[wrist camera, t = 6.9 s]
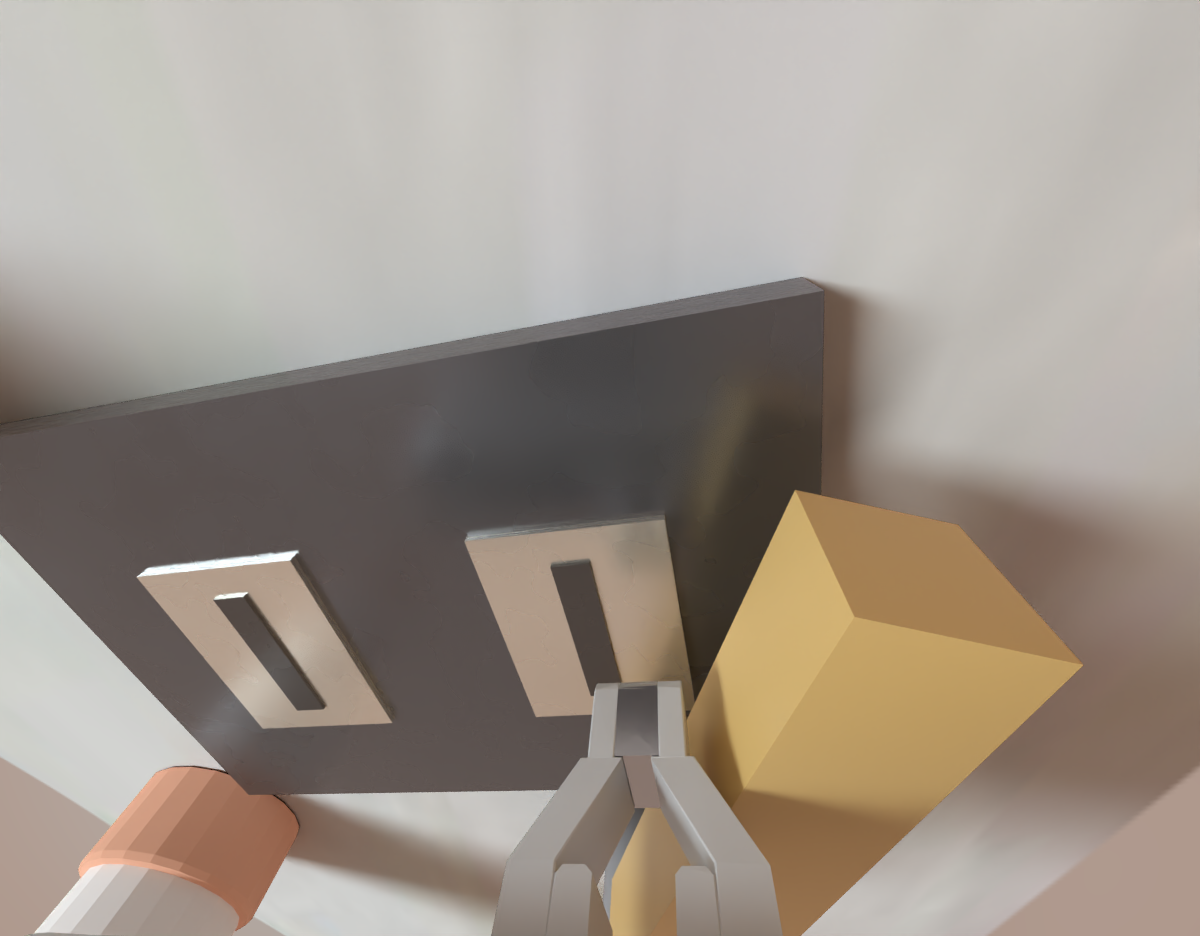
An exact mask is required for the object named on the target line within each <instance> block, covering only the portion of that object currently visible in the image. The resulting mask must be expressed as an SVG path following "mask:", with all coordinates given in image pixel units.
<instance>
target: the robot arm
mask: <svg viewBox="0 0 1200 936" xmlns="http://www.w3.org/2000/svg"><path fill="white" fill-rule="evenodd" d="M634 808H661V811H662V813H663V814H664V816H665V818H666V820H667V822H668V824H669V826H670V828H671V829H672V831H673V833H674V835H675V837H676V839H677V841H678V843H679V844H680V846H681V848H682V850H683V852H684V854H685V856H686V857H687V859H688V861H689V863H690V865H691V866H681V867H680V869H679V870H678V871H677V873H676V874H675V884H676V919H677V936H783V933H782V928H781V922H780V917H779V911H778V905H777V900H776V894H775V889H774V883H773V878H772V872H771V867H770V864H769V863H768V861H767V860H766V859H765V857H764V856H763V854H762V853H761V851H760V850H759V849H758V847H757V846H756V844H755V843H754V841H753V840H752V838H751V837H750V836H749V834H748V833H747V831H746V830H745V828H744V827H743V826H742V824H741V823H740V821H739V820H738V818H737V817H736V816H735V814H734V813H733V811H732V810H731V808H730V807H729V806H728V804H727V803H726V801H725V800H724V798H723V797H722V796H721V794H720V793H719V791H718V790H717V788H716V787H715V786H714V784H713V783H712V781H711V780H710V778H709V777H708V776H707V774H706V773H705V771H704V770H703V768H702V767H701V765H700V764H699V763H698V761H697V760H696V758H695V757H694V756H690V749H689V737H688V728H687V720H686V711H685V703H684V695H683V687H682V681H681V680H677V681H659V682H658V681H644V682H626V683H598V684H597V685H596V688H595V691H594V701H593V710H592V720H591V730H590V740H589V749H588V757H587V758H580V760H579V761H578V763H577V764H576V765H575V767H574V768H573V770H572V771H571V772H570V774H569V775H568V776H567V778H566V779H565V781H564V782H563V783H562V785H561V786H560V787H559V789H558V790H557V792H556V793H555V794H554V796H553V797H552V799H551V800H550V801H549V803H548V804H547V805H546V807H545V808H544V810H543V811H542V812H541V814H540V815H539V817H538V818H537V819H536V821H535V822H534V823H533V825H532V826H531V828H530V829H529V830H528V832H527V833H526V834H525V836H524V837H523V839H522V840H521V841H520V843H519V844H518V846H517V847H516V848H515V850H514V851H513V852H512V854H511V855H510V857H509V858H508V859H507V862H506V867H505V872H504V877H503V882H502V886H501V891H500V896H499V901H498V905H497V910H496V915H495V920H494V925H493V929H492V934H491V936H613V930H612V927H611V924H610V922H609V919H608V916H607V913H606V910H605V908H604V905H603V902H602V899H601V896H600V894H599V891H598V888H597V884H598V882H599V880H600V878H601V876H602V874H603V872H604V870H605V869H606V867H607V865H608V863H609V861H610V859H611V857H612V855H613V853H614V851H615V849H616V847H617V845H618V843H619V841H620V839H621V837H622V835H623V833H624V832H625V830H626V828H627V826H628V824H629V822H630V820H631V818H632V816H633V814H634V812H635V810H634ZM26 936H110V935H87V934H70V933H53V932H46V933H34V934H29V935H26Z"/></svg>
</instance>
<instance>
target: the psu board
mask: <svg viewBox="0 0 1200 936" xmlns="http://www.w3.org/2000/svg"><path fill="white" fill-rule="evenodd" d="M823 333H824V290H822V289H821V288H819V287H818V286H816V285H814V284H813V283H811V282H810V281H808V280H806V279H805V278H803V277H800V278H795V279H789V280H784V281H778V282H773V283H767V284H762V285H756V286H751V287H746V288H740V289H735V290H729V291H724V292H718V293H713V294H707V295H702V296H697V297H691V298H686V299H680V300H675V301H669V302H664V303H658V304H653V305H647V306H642V307H637V308H631V309H626V310H620V311H615V312H609V313H604V314H598V315H593V316H588V317H582V318H577V319H571V320H566V321H560V322H555V323H549V324H544V325H539V326H533V327H528V328H522V329H517V330H511V331H506V332H500V333H495V334H490V335H484V336H479V337H473V338H468V339H462V340H457V341H451V342H446V343H440V344H435V345H430V346H424V347H419V348H413V349H408V350H402V351H397V352H391V353H386V354H381V355H375V356H370V357H364V358H359V359H353V360H348V361H342V362H337V363H332V364H326V365H321V366H315V367H310V368H304V369H299V370H293V371H288V372H283V373H277V374H272V375H266V376H261V377H255V378H250V379H244V380H239V381H233V382H228V383H223V384H217V385H212V386H206V387H201V388H195V389H190V390H184V391H179V392H174V393H168V394H163V395H157V396H152V397H146V398H141V399H135V400H130V401H125V402H119V403H114V404H108V405H103V406H97V407H92V408H86V409H81V410H76V411H70V412H65V413H59V414H54V415H48V416H43V417H37V418H32V419H27V420H21V421H16V422H10V423H5V424H0V534H1V535H2V536H3V537H4V538H5V540H6V541H7V542H8V543H9V544H10V545H11V546H12V547H13V548H14V549H15V550H16V551H17V552H18V553H19V554H20V555H21V556H22V557H23V558H24V559H25V561H26V562H27V563H28V564H29V565H30V566H31V567H32V568H33V569H34V570H35V571H36V572H37V573H38V574H39V575H40V576H41V577H42V578H43V579H44V580H45V582H46V583H47V584H48V585H49V586H50V587H51V588H52V589H53V590H54V591H55V592H56V593H57V594H58V595H59V596H60V597H61V598H62V599H63V600H64V601H65V603H66V604H67V605H68V606H69V607H70V608H71V609H72V610H73V611H74V612H75V613H76V614H77V615H78V616H79V617H80V618H81V619H82V620H83V621H84V622H85V624H86V625H87V626H88V627H89V628H90V629H91V630H92V631H93V632H94V633H95V634H96V635H97V636H98V637H99V638H100V639H101V640H102V641H103V642H104V643H105V645H106V646H107V647H108V648H109V649H110V650H111V651H112V652H113V653H114V654H115V655H116V656H117V657H118V658H119V659H120V660H121V661H122V662H123V663H124V665H125V666H126V667H127V668H128V669H129V670H130V671H131V672H132V673H133V674H134V675H135V676H136V677H137V678H138V679H139V680H140V681H141V682H142V683H143V684H144V686H145V687H146V688H147V689H148V690H149V691H150V692H151V693H152V694H153V695H154V696H155V697H156V698H157V699H158V700H159V701H160V702H161V703H162V704H163V705H164V707H165V708H166V709H167V710H168V711H169V712H170V713H171V714H172V715H173V716H174V717H175V718H176V719H177V720H178V721H179V722H180V723H181V724H182V725H183V726H184V728H185V729H186V730H187V731H188V732H189V733H190V734H191V735H192V736H193V737H194V738H195V739H196V740H197V741H198V742H199V743H200V744H201V745H202V746H203V747H204V749H205V750H206V751H207V752H208V753H209V754H210V755H211V756H212V757H213V758H214V759H215V760H216V761H217V762H218V763H219V764H220V765H221V766H222V767H223V768H224V770H225V771H226V772H227V773H228V774H229V775H230V776H231V777H232V778H233V779H234V780H235V781H236V782H237V783H238V784H239V785H240V786H241V787H242V788H243V789H244V791H245V792H246V793H247V794H248V795H278V794H339V793H400V792H461V791H522V790H558V789H559V787H560V786H561V785H562V783H563V782H564V781H565V779H566V778H567V776H568V775H569V774H570V772H571V771H572V770H573V768H574V767H575V765H576V764H577V763H578V761H579V760H580V758H587V757H588V749H589V740H590V730H591V720H592V710H593V701H594V691H595V688H596V685H597V684H598V683H626V682H644V681H658V682H659V681H677V680H681V681H682V687H683V695H684V703H685V711H686V720H687V719H688V716H689V714H690V712H691V710H692V708H693V706H694V704H695V701H696V699H697V697H698V695H699V693H700V691H701V689H702V687H703V684H704V682H705V680H706V678H707V676H708V674H709V672H710V670H711V667H712V665H713V663H714V661H715V659H716V657H717V655H718V653H719V650H720V648H721V646H722V644H723V642H724V640H725V638H726V636H727V633H728V631H729V629H730V627H731V625H732V623H733V621H734V619H735V616H736V614H737V612H738V610H739V608H740V606H741V604H742V602H743V599H744V597H745V595H746V593H747V591H748V589H749V587H750V585H751V582H752V580H753V578H754V576H755V574H756V572H757V570H758V567H759V565H760V563H761V561H762V559H763V557H764V555H765V553H766V550H767V548H768V546H769V544H770V542H771V540H772V538H773V536H774V533H775V531H776V529H777V527H778V525H779V523H780V521H781V519H782V516H783V514H784V512H785V510H786V508H787V506H788V504H789V502H790V499H791V497H792V495H793V493H794V491H795V490H798V491H803V492H808V493H812V494H817V495H821V455H822V394H823Z"/></svg>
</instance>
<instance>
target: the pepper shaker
mask: <svg viewBox="0 0 1200 936" xmlns="http://www.w3.org/2000/svg"><path fill="white" fill-rule="evenodd" d="M298 830H299V825H298V823H297V820H296V817H295V815H294V814H293V813H292V812H291V811H290V810H289V808H288V807H287V806H286V805H285V804H284V803H283V802H282V801H280V800H279V799H277V798H276V797H274V796H273V795H248V794H247V793H246V792H245V791H244V789H243V788H242V787H241V786H240V785H239V784H238V783H237V782H236V781H235V780H234V779H233V778H232V777H231V776H230V775H228V774H225V773H222V772H219V771H215V770H208V769H202V768H196V767H172V768H168V769H165V770H162V771H159V772H156V773H155V775H154V776H153V777H152V778H151V779H150V780H149V782H148V783H147V784H146V785H145V786H144V788H143V789H142V790H141V791H140V792H139V794H138V795H137V796H136V797H135V798H134V800H133V801H132V802H131V803H130V804H129V805H128V807H127V808H126V809H125V810H124V811H123V813H122V814H121V815H120V816H119V817H118V819H117V820H116V821H115V822H114V823H113V825H112V826H111V827H110V828H109V829H108V831H107V832H106V833H105V834H104V835H103V837H102V838H101V839H100V840H99V841H98V843H97V844H96V845H95V846H94V847H93V848H92V850H91V851H90V852H89V853H88V855H87V856H86V857H85V858H84V859H83V860H82V862H81V864H80V866H79V869H78V871H79V875H80V880H79V881H78V882H77V883H76V884H75V886H74V887H73V888H72V889H71V890H70V891H69V893H68V894H67V895H66V896H65V897H64V899H63V900H62V901H61V902H60V903H59V904H58V906H57V907H56V908H55V909H54V910H53V912H52V913H51V914H50V915H49V916H48V917H47V918H46V920H45V921H44V922H43V923H42V924H41V926H40V927H39V928H38V929H37V930H36V931H35V933H46V932H53V933H70V934H87V935H110V936H232V935H233V933H234V931H237V930H238V929H240V928H242V927H243V926H245V925H246V924H247V923H248V922H249V921H250V920H251V919H252V918H253V916H254V914H255V912H256V911H257V909H258V907H259V905H260V903H261V901H262V899H263V898H264V896H265V894H266V892H267V890H268V888H269V887H270V885H271V883H272V881H273V879H274V877H275V875H276V874H277V872H278V870H279V868H280V866H281V864H282V863H283V861H284V859H285V857H286V855H287V853H288V851H289V850H290V848H291V846H292V844H293V842H294V840H295V839H296V837H297V833H298Z"/></svg>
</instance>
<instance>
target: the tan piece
mask: <svg viewBox="0 0 1200 936" xmlns="http://www.w3.org/2000/svg"><path fill="white" fill-rule="evenodd" d="M1082 666H1083V664H1082V663H1081V662H1080V661H1079V659H1078V658H1077V657H1076V656H1075V655H1074V654H1073V653H1072V652H1071V650H1070V649H1069V648H1068V647H1067V646H1066V645H1065V644H1064V643H1063V642H1062V640H1061V639H1060V638H1059V637H1058V636H1057V635H1056V634H1055V633H1054V631H1053V630H1052V629H1051V628H1050V627H1049V626H1048V625H1047V624H1046V623H1045V621H1044V620H1043V619H1042V618H1041V617H1040V616H1039V615H1038V614H1037V612H1036V611H1035V610H1034V609H1033V608H1032V607H1031V606H1030V605H1029V604H1028V602H1027V601H1026V600H1025V599H1024V598H1023V597H1022V596H1021V595H1020V593H1019V592H1018V591H1017V590H1016V589H1015V588H1014V587H1013V586H1012V585H1011V583H1010V582H1009V581H1008V580H1007V579H1006V578H1005V577H1004V576H1003V575H1002V573H1001V572H1000V571H999V570H998V569H997V568H996V567H995V566H994V564H993V563H992V562H991V561H990V560H989V559H988V558H987V557H986V556H985V554H984V553H983V552H982V551H981V550H980V549H979V548H978V547H977V545H976V544H975V543H974V542H973V541H972V540H971V539H970V538H969V537H968V535H967V534H966V533H965V532H964V531H963V530H962V529H961V528H960V526H959V525H957V524H952V523H947V522H943V521H938V520H933V519H929V518H924V517H919V516H915V515H910V514H905V513H901V512H896V511H891V510H887V509H882V508H877V507H873V506H868V505H863V504H859V503H854V502H850V501H845V500H840V499H836V498H831V497H826V496H822V495H817V494H812V493H808V492H803V491H798V490H795V491H794V493H793V495H792V497H791V499H790V502H789V504H788V506H787V508H786V510H785V512H784V514H783V516H782V519H781V521H780V523H779V525H778V527H777V529H776V531H775V533H774V536H773V538H772V540H771V542H770V544H769V546H768V548H767V550H766V553H765V555H764V557H763V559H762V561H761V563H760V565H759V567H758V570H757V572H756V574H755V576H754V578H753V580H752V582H751V585H750V587H749V589H748V591H747V593H746V595H745V597H744V599H743V602H742V604H741V606H740V608H739V610H738V612H737V614H736V616H735V619H734V621H733V623H732V625H731V627H730V629H729V631H728V633H727V636H726V638H725V640H724V642H723V644H722V646H721V648H720V650H719V653H718V655H717V657H716V659H715V661H714V663H713V665H712V667H711V670H710V672H709V674H708V676H707V678H706V680H705V682H704V684H703V687H702V689H701V691H700V693H699V695H698V697H697V699H696V701H695V704H694V706H693V708H692V710H691V712H690V714H689V716H688V719H687V728H688V737H689V749H690V756H694V757H695V758H696V760H697V761H698V763H699V764H700V765H701V767H702V768H703V770H704V771H705V773H706V774H707V776H708V777H709V778H710V780H711V781H712V783H713V784H714V786H715V787H716V788H717V790H718V791H719V793H720V794H721V796H722V797H723V798H724V800H725V801H726V803H727V804H728V806H729V807H730V808H731V810H732V811H733V813H734V814H735V816H736V817H737V818H738V820H739V821H740V823H741V824H742V826H743V827H744V828H745V830H746V831H747V833H748V834H749V836H750V837H751V838H752V840H753V841H754V843H755V844H756V846H757V847H758V849H759V850H760V851H761V853H762V854H763V856H764V857H765V859H766V860H767V861H768V863H769V864H770V867H771V872H772V878H773V883H774V889H775V894H776V900H777V905H778V911H779V917H780V922H781V928H782V933H783V936H801V935H802V934H803V933H804V932H805V931H806V930H807V929H808V928H809V927H810V926H811V925H812V924H813V923H814V922H816V921H817V920H818V919H819V918H820V917H821V916H822V915H823V914H824V913H825V912H826V911H827V910H828V909H829V908H830V907H831V906H832V905H833V904H834V903H835V902H836V901H837V900H839V899H840V898H841V897H842V896H843V895H844V894H845V893H846V892H847V891H848V890H849V889H850V888H851V887H852V886H853V885H854V884H855V883H856V882H857V881H858V880H859V879H860V878H862V877H863V876H864V875H865V874H866V873H867V872H868V871H869V870H870V869H871V868H872V867H873V866H874V865H875V864H876V863H877V862H878V861H879V860H880V859H881V858H882V857H883V856H885V855H886V854H887V853H888V852H889V851H890V850H891V849H892V848H893V847H894V846H895V845H896V844H897V843H898V842H899V841H900V840H901V839H902V838H903V837H904V836H905V835H907V834H908V833H909V832H910V831H911V830H912V829H913V828H914V827H915V826H916V825H917V824H918V823H919V822H920V821H921V820H922V819H923V818H924V817H925V816H926V815H927V814H928V813H930V812H931V811H932V810H933V809H934V808H935V807H936V806H937V805H938V804H939V803H940V802H941V801H942V800H943V799H944V798H945V797H946V796H947V795H948V794H949V793H950V792H951V791H953V790H954V789H955V788H956V787H957V786H958V785H959V784H960V783H961V782H962V781H963V780H964V779H965V778H966V777H967V776H968V775H969V774H970V773H971V772H972V771H973V770H974V769H976V768H977V767H978V766H979V765H980V764H981V763H982V762H983V761H984V760H985V759H986V758H987V757H988V756H989V755H990V754H991V753H992V752H993V751H994V750H995V749H996V748H998V747H999V746H1000V745H1001V744H1002V743H1003V742H1004V741H1005V740H1006V739H1007V738H1008V737H1009V736H1010V735H1011V734H1012V733H1013V732H1014V731H1015V730H1016V729H1017V728H1018V727H1019V726H1021V725H1022V724H1023V723H1024V722H1025V721H1026V720H1027V719H1028V718H1029V717H1030V716H1031V715H1032V714H1033V713H1034V712H1035V711H1036V710H1037V709H1038V708H1039V707H1040V706H1041V705H1042V704H1044V703H1045V702H1046V701H1047V700H1048V699H1049V698H1050V697H1051V696H1052V695H1053V694H1054V693H1055V692H1056V691H1057V690H1058V689H1059V688H1060V687H1061V686H1062V685H1063V684H1064V683H1065V682H1067V681H1068V680H1069V679H1070V678H1071V677H1072V676H1073V675H1074V674H1075V673H1076V672H1077V671H1078V670H1079V669H1080V668H1081V667H1082ZM634 810H635V812H634V814H633V816H632V818H631V820H630V822H629V824H628V826H627V828H626V830H625V832H624V833H623V835H622V837H621V839H620V841H619V843H618V845H617V847H616V849H615V851H614V853H613V855H612V857H611V859H610V861H609V863H608V865H607V867H606V869H605V879H604V894H603V905H604V908H605V910H606V913H607V916H608V919H609V922H610V924H611V927H612V930H613V936H677V919H676V884H675V874H676V873H677V871H678V870H679V869H680V867H681V866H691V865H690V863H689V861H688V859H687V857H686V856H685V854H684V852H683V850H682V848H681V846H680V844H679V843H678V841H677V839H676V837H675V835H674V833H673V831H672V829H671V828H670V826H669V824H668V822H667V820H666V818H665V816H664V814H663V813H662V811H661V808H634Z"/></svg>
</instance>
